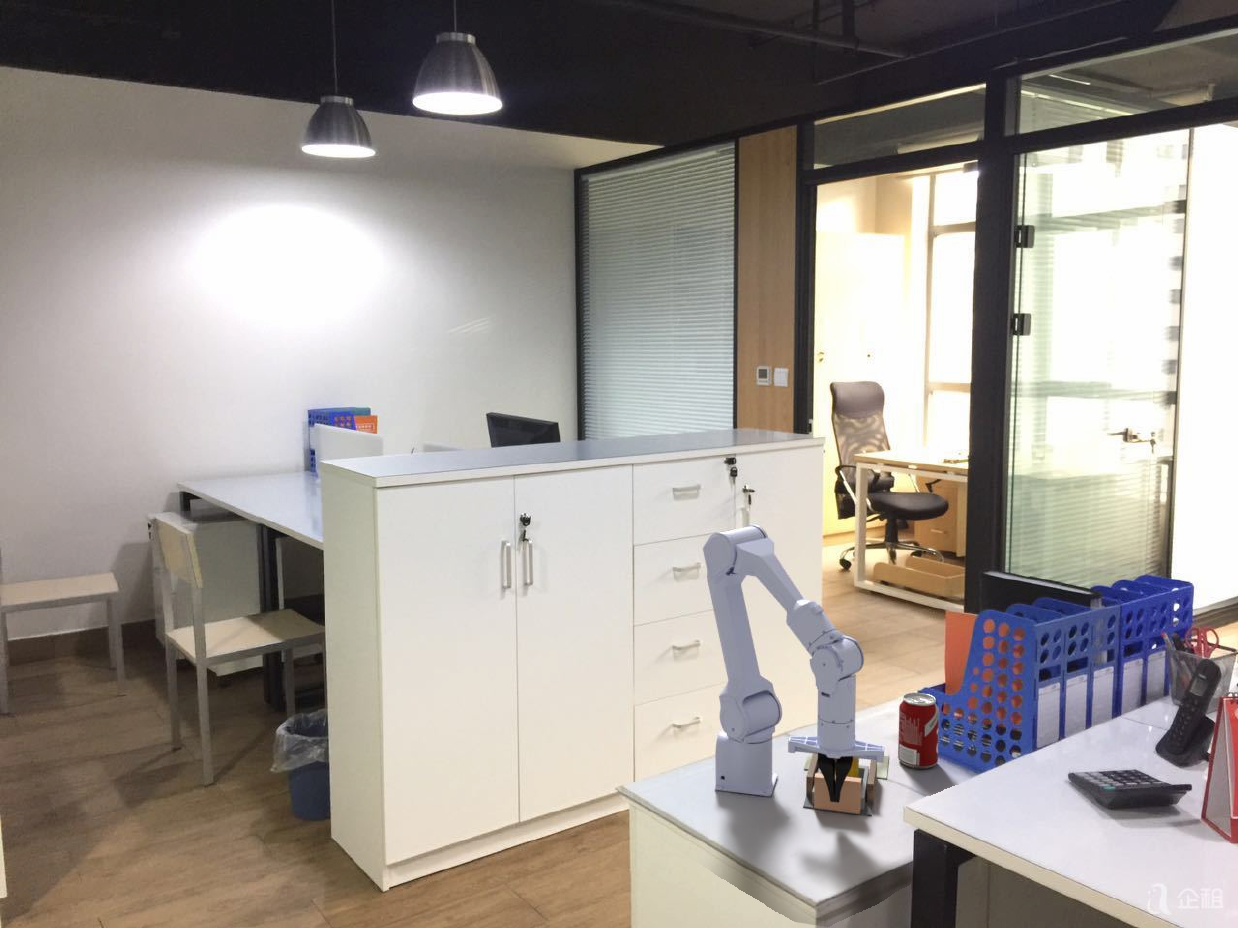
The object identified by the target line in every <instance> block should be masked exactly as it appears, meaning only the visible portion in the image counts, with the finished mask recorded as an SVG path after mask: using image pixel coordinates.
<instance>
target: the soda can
mask: <svg viewBox="0 0 1238 928" xmlns="http://www.w3.org/2000/svg"><path fill="white" fill-rule="evenodd" d="M902 699H903V700H902V702H900V704H899V705H898V706H899V708H898V738H897V739H898V740H897V741H898V746H897V747H898V749H897V752H898V753H897V758H898V760H899V762H900V763H902V764H903V765H905V766H907V767H909V768H912V769H914V770H915V769H917V770H926V769H929V768H932V767H935V766H936V765H937V764H938V762H939V761H938V760H939V734H940V733H939V731H940V729H939V728H940V727H939V726H940V709H939V706H938V705H937V704H936V703H937V700H936V698H935V696H933V695H931V694H927V693H923V692H910V693H909V692H908V693H906V694H904V695H903V696H902Z"/></svg>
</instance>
